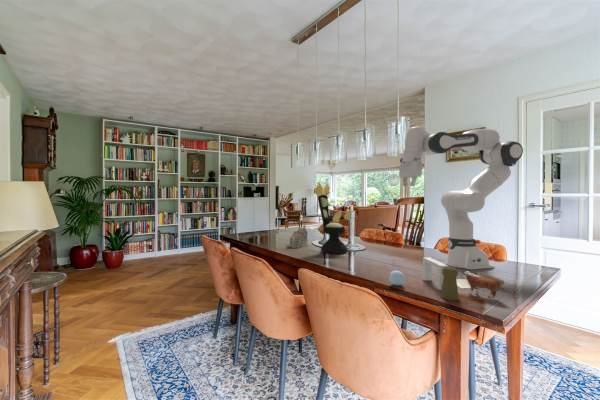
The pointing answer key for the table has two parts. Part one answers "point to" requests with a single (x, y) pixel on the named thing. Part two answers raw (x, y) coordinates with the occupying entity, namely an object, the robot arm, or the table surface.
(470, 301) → the table surface
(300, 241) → the ceramic cottage
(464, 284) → the blank cream square sheet
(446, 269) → the olive tall rounded piece
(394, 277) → the ball
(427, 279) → the bridge
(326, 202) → the candelabra
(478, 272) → the stopper
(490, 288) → the bull figurine
